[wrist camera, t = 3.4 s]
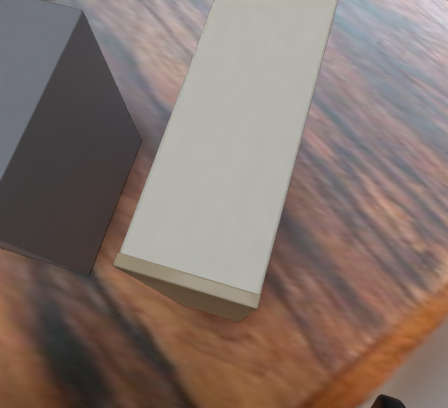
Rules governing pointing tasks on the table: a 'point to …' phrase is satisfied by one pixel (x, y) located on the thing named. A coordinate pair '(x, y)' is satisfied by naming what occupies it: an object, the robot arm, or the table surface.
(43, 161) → the grey box
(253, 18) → the book
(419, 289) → the table surface
